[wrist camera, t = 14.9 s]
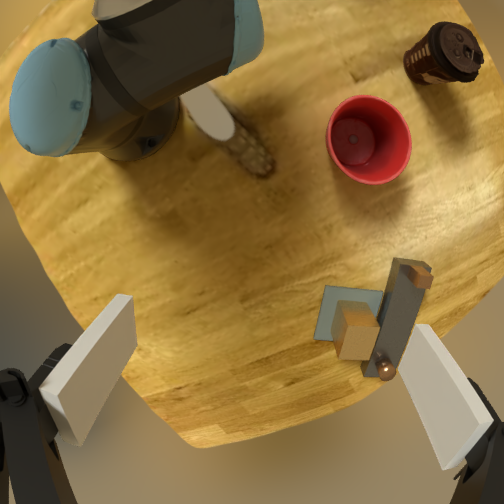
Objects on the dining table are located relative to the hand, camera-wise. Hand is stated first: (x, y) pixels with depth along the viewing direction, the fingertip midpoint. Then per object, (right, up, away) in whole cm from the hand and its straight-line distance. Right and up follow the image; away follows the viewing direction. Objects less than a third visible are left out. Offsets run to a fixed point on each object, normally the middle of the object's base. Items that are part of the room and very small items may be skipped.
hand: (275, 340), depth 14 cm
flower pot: (+13, +20, +29) cm, 37 cm away
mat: (+15, -7, +37) cm, 41 cm away
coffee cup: (+25, +33, +24) cm, 47 cm away
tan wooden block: (+15, -7, +37) cm, 40 cm away
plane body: (+23, -8, +37) cm, 45 cm away
